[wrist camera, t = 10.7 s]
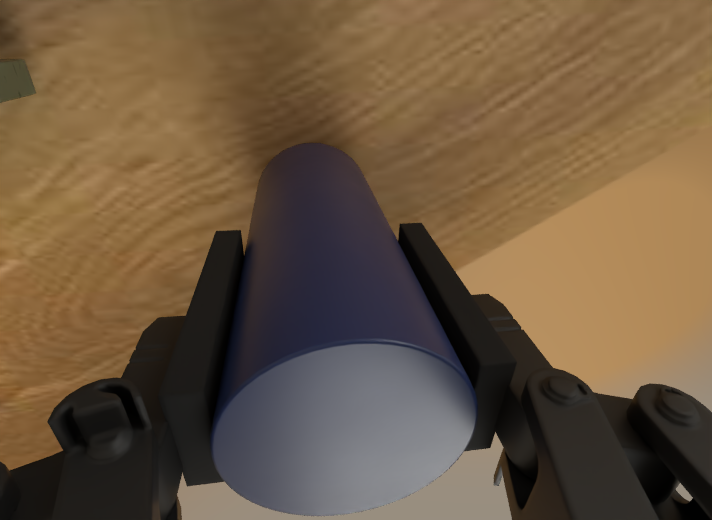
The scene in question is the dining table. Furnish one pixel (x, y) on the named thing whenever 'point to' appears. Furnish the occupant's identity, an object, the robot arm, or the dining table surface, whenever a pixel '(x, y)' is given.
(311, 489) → the navy cylinder
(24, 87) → the drawer
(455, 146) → the dining table surface
